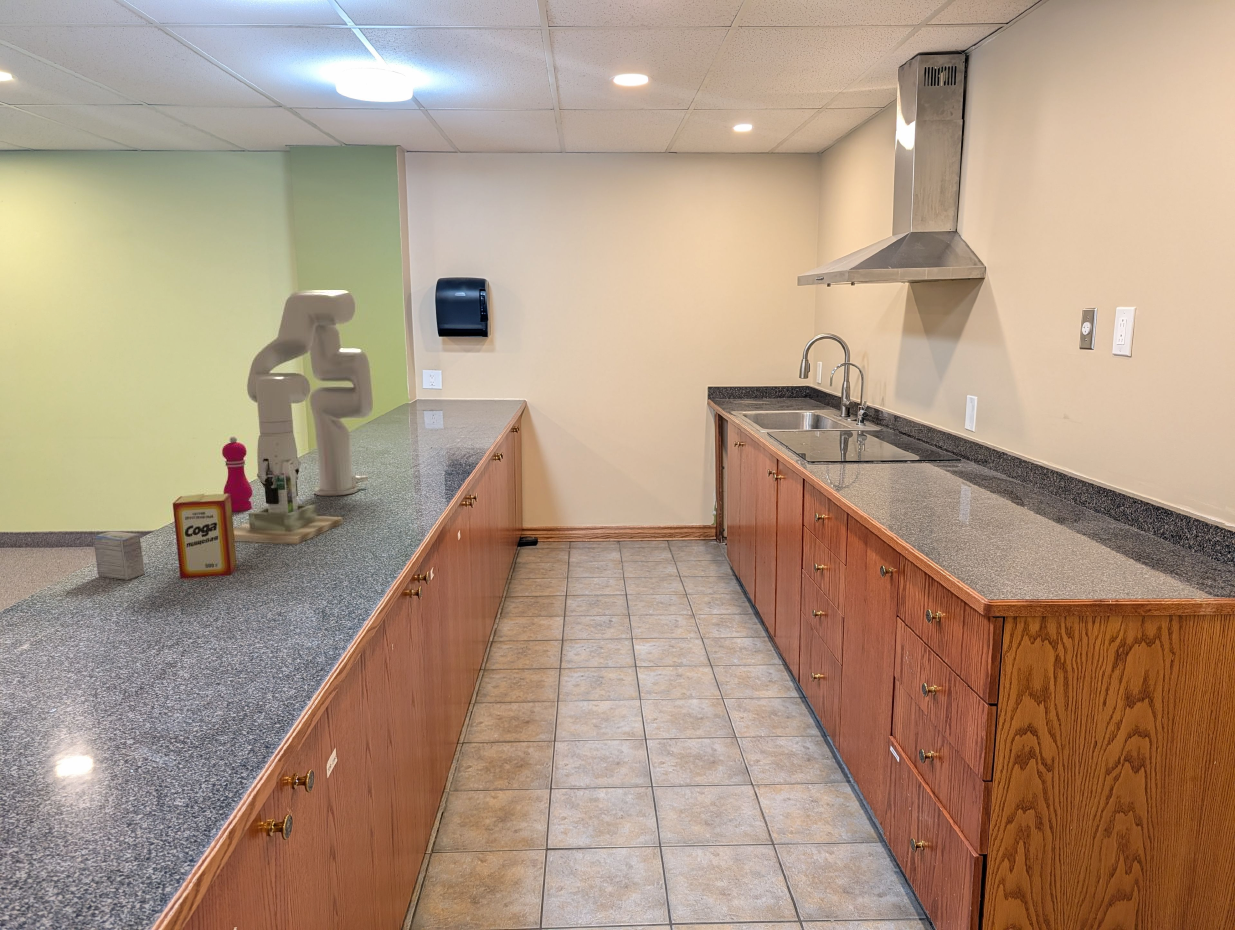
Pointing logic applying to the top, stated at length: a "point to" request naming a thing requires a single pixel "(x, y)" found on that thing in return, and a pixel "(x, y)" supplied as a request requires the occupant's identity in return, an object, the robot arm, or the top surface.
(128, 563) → the medicine box
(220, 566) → the baking soda box
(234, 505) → the pepper mill
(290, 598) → the top surface
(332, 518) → the socket board
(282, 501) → the syrup box
